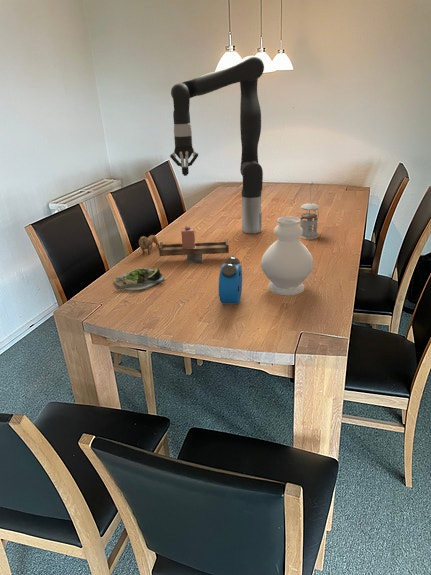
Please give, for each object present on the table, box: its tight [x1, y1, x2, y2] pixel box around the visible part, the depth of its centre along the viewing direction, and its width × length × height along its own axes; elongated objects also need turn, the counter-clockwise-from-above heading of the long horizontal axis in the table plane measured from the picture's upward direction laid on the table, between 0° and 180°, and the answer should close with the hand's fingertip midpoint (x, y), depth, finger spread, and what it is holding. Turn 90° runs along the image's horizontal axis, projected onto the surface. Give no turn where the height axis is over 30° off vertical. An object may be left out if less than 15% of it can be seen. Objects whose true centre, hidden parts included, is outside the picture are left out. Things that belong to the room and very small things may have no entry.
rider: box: [180, 225, 196, 249], centre depth 176 cm, size 5×4×9 cm
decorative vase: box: [260, 215, 314, 296], centre depth 149 cm, size 18×18×25 cm
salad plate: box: [113, 267, 167, 292], centre depth 162 cm, size 19×18×5 cm
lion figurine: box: [138, 234, 160, 256], centre depth 190 cm, size 15×5×9 cm, turn 165°
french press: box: [299, 181, 320, 240], centre depth 198 cm, size 10×12×25 cm
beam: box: [158, 238, 230, 265], centre depth 179 cm, size 28×7×8 cm, turn 91°
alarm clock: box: [218, 255, 243, 307], centre depth 143 cm, size 13×6×15 cm, turn 169°
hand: (185, 175), depth 195 cm, fingers closed
